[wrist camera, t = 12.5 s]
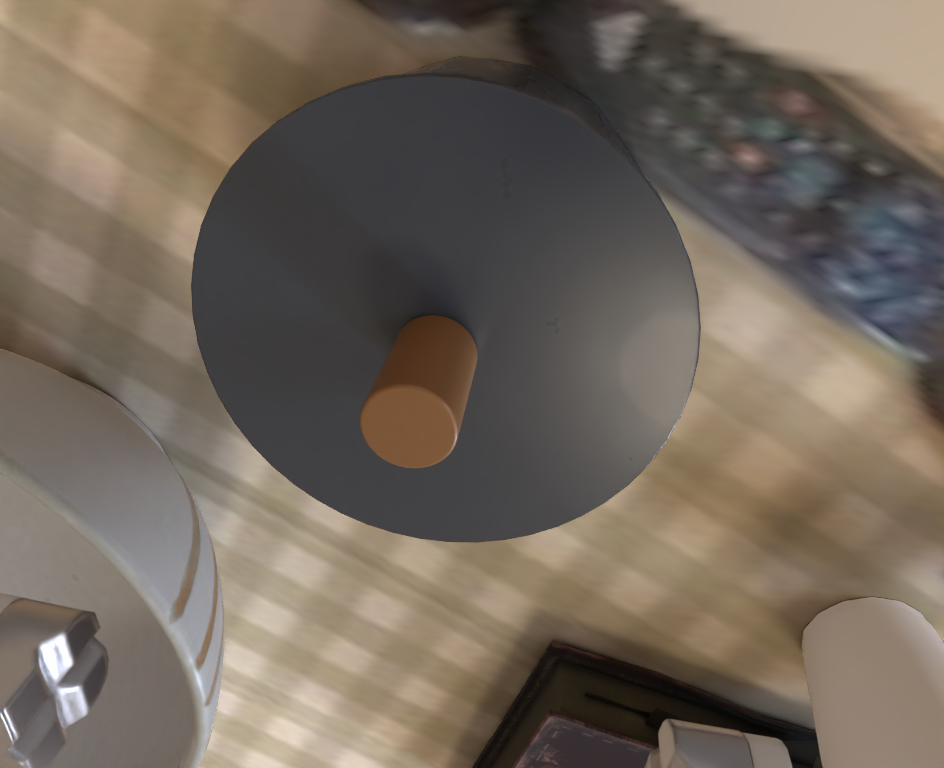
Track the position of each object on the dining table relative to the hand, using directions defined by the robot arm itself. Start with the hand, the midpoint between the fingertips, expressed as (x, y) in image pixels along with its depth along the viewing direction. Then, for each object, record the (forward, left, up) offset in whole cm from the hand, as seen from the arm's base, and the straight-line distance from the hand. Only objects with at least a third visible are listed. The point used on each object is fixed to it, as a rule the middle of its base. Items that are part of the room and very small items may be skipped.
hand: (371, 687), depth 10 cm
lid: (+1, +1, -12) cm, 12 cm away
